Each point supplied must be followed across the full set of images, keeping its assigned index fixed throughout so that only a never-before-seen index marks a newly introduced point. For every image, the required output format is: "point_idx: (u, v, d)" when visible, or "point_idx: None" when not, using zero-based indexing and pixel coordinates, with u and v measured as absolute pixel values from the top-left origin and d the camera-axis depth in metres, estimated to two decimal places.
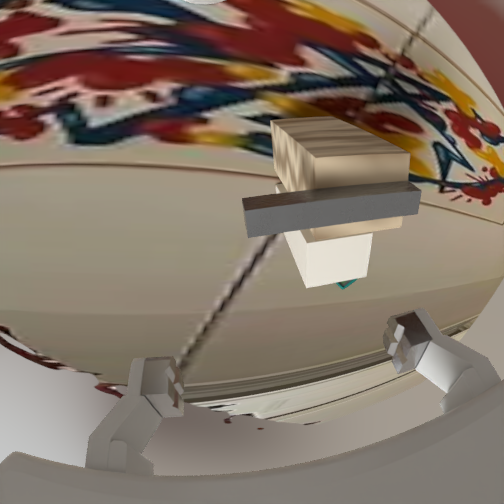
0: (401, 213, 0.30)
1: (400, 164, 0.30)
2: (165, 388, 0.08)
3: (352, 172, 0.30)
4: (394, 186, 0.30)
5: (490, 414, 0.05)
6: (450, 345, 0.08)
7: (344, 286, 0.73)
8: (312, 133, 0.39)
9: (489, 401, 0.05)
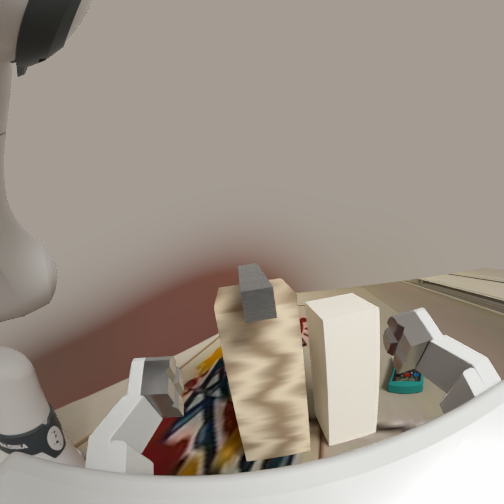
0: (256, 265, 0.45)
1: (227, 288, 0.46)
2: (165, 388, 0.08)
3: (230, 296, 0.39)
4: None
5: (490, 414, 0.05)
6: (450, 345, 0.08)
7: None
8: None
9: (489, 401, 0.05)
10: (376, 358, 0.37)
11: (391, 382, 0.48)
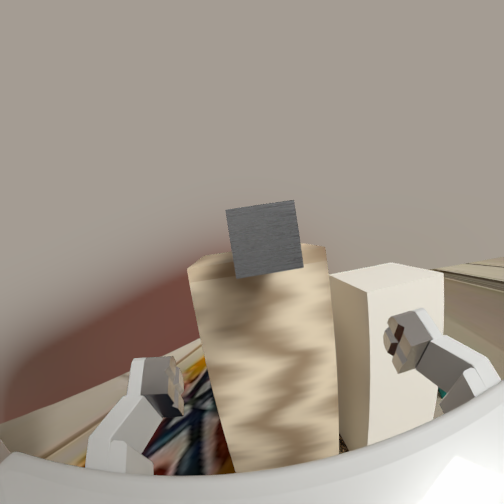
0: None
1: (215, 254, 0.31)
2: (165, 388, 0.08)
3: (217, 259, 0.25)
4: None
5: (490, 414, 0.05)
6: (450, 345, 0.08)
7: None
8: None
9: (489, 401, 0.05)
10: None
11: None
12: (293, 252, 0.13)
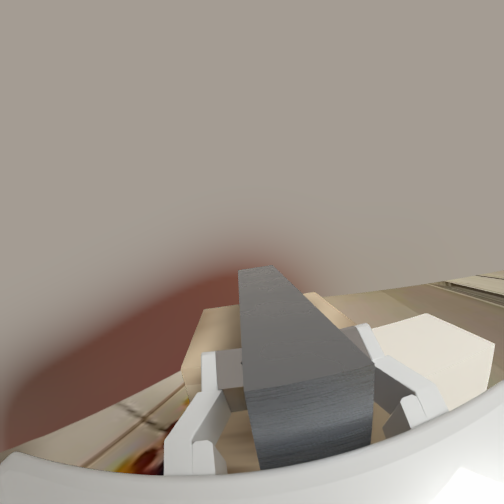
0: (272, 269, 0.23)
1: (217, 311, 0.25)
2: None
3: (221, 336, 0.18)
4: None
5: (490, 414, 0.05)
6: (391, 367, 0.08)
7: None
8: None
9: (489, 401, 0.05)
10: None
11: None
12: (358, 438, 0.06)
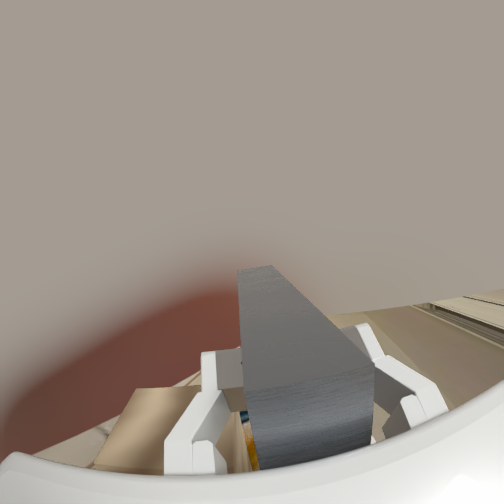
0: (271, 269, 0.23)
1: (144, 394, 0.25)
2: None
3: (131, 432, 0.19)
4: None
5: (490, 414, 0.05)
6: (391, 367, 0.08)
7: None
8: None
9: (489, 401, 0.05)
10: None
11: None
12: (358, 438, 0.06)
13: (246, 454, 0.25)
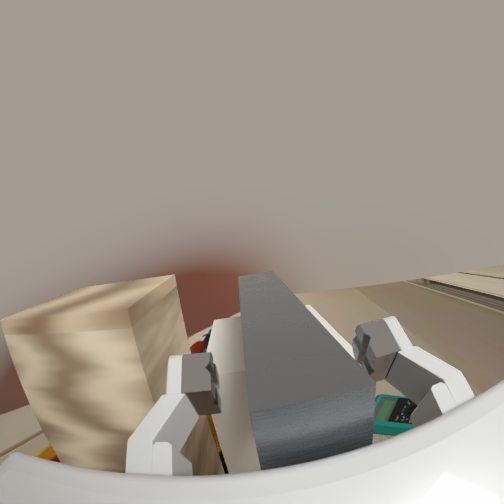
0: (272, 275, 0.23)
1: (84, 288, 0.24)
2: (208, 385, 0.08)
3: (52, 303, 0.17)
4: None
5: (490, 414, 0.05)
6: (420, 357, 0.08)
7: (381, 397, 0.37)
8: None
9: (489, 401, 0.05)
10: None
11: None
12: None
13: None
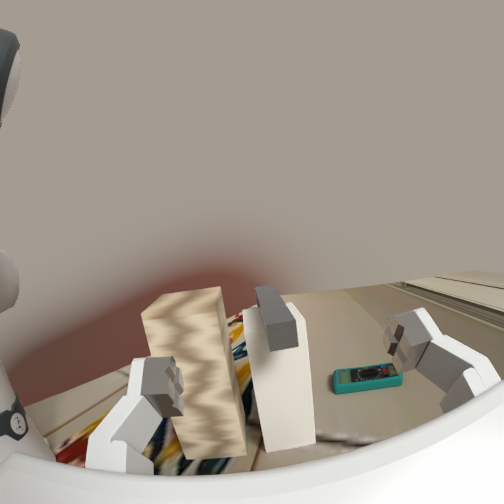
0: (272, 287, 0.47)
1: (168, 295, 0.47)
2: (165, 388, 0.08)
3: (162, 304, 0.41)
4: None
5: (490, 414, 0.05)
6: (450, 345, 0.08)
7: (337, 371, 0.58)
8: None
9: (489, 401, 0.05)
10: (306, 370, 0.38)
11: (400, 375, 0.50)
12: (294, 340, 0.29)
13: (228, 337, 0.47)
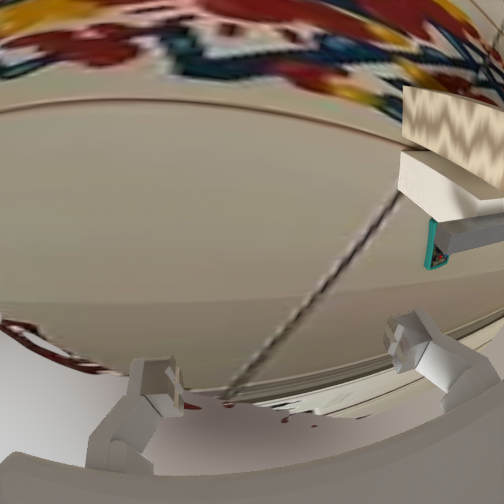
0: None
1: None
2: (165, 388, 0.08)
3: None
4: None
5: (490, 414, 0.05)
6: (450, 345, 0.08)
7: None
8: (470, 100, 0.30)
9: (489, 401, 0.05)
10: (440, 221, 0.41)
11: (430, 269, 0.65)
12: (436, 243, 0.33)
13: None
